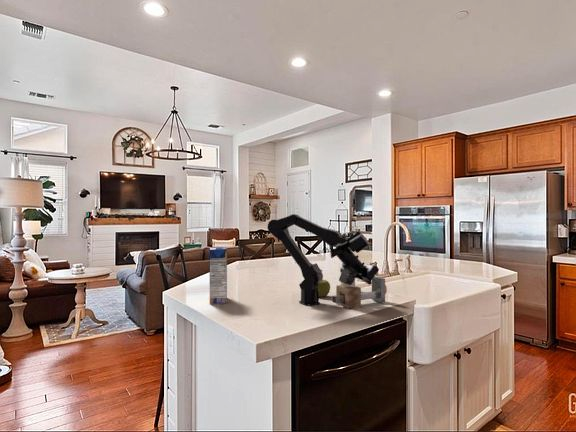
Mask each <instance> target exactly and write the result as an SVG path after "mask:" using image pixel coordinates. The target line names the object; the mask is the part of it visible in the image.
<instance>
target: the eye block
mask: <svg viewBox="0 0 576 432" xmlns="http://www.w3.org/2000/svg"><path fill="white" fill-rule="evenodd" d="M335 291H336V295H344V294H345V302H342V303H335V304H336V305H337V304H338V305H337V306H340V305H341V306H340V307H342V306H343V308H345V307H346V308H345V309H347V308H350V309H355V308H354V307H358V308H362V300H361V292H362V288H361V287H360V286H356V285H355V286H353V285H348V284H347V285H341V284H339V285H338V284H337V285H336V290H335Z"/></svg>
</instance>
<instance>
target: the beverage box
mask: <svg viewBox="0 0 576 432" xmlns="http://www.w3.org/2000/svg"><path fill="white" fill-rule="evenodd" d="M227 272H228V249H227V247H226V246H221V247H220V246H218V247H217V246H214V247H213V246H211V247H209V305H216V304H217V305H219V304H220V305H221V304H227V303H228V290H227V289H228V273H227Z"/></svg>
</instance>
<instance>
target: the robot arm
mask: <svg viewBox="0 0 576 432" xmlns="http://www.w3.org/2000/svg"><path fill="white" fill-rule="evenodd" d="M267 223H268V224H267V231H268V232H269V233H270V234H271V235H272V236H273V237H275V238H276V239H277V240H278V241H280V243H282V245H283V247H284V248H285V249H286V251H288V253H289V254H290V256H291V258H292V259H293V260H294V261H295V263H296V264H297V266H298V267H299V269H300V271H301V275H302V277H303V280H302V281H301V282H300V283H299V289H300V300H298V301H299V303H300V304H302V305H304V306H313V305H320V304H321V302H320V297H319V291H318V288H317V287H318V285H319V283H320V282H321V281H322V280H324V274H323V270H322V269H321V268H320V267H319V265H318V264H317V263H314V264H313V263H311V262H310V260H309V259H308V258H307V256H306V255H305V253H304V252H303V251H302V250H301V249H300V247H299V246H298V245H297V243H296V241H294V239H293V238H292V236H291V235H290V231H289V228H290V227H292V226H294V225H295V226H296V227H298V228H300V229H303V230H304V231H306V232H308V233H310V234H313V235H315V236H317V237H318V238H319V239H320V240H321V241H323V242H324V243H326V244H327V245H328V246H330V247H335V246H337V247H335V248H330V253H329V254H330V258H331V259H333V258H335V257H337V258H338V260H339V261H340V262H341V263H342V264H341V267H340V270H339V272H340V276H339V278H338V281H339V283H341V282H342V283H345V284H348V285H351V284H352V283H353V282H354V280H355V281H356V279H359V280H361V281H363V283H366V284H368V285H371V286H372V279H373V278H374V276H376V275H377V273H378V272H379V271H380V270H379V267H378V266H377V265H374V264H367V265H365V264H366V263H365V262H364V261H361V260H360V259H359V255H358V253H360V252H362V251H363V250H364V249H366V248H367V247H369V246H370V242H369V240H368V238H367V237H366V236H365V234H364V233H362V232H361V231H360V230H358V231H356V232H355V233H354V234H353V235H351V236H350V237H348V236H345V235H343V234H342V233H341V231H338V230H336V229H332V228H326V227H324V226H323V227H322V226H321V225H319V224H317V223H314V222H312V221H311V220H308V219H306V218H304V217H302V216H300V215H299V214H294V213H293V214H290V215H288V216H284V217H281V218H279V219H271V220H270V221H268V222H267ZM355 252H356V253H357V254H356V253H355Z"/></svg>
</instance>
